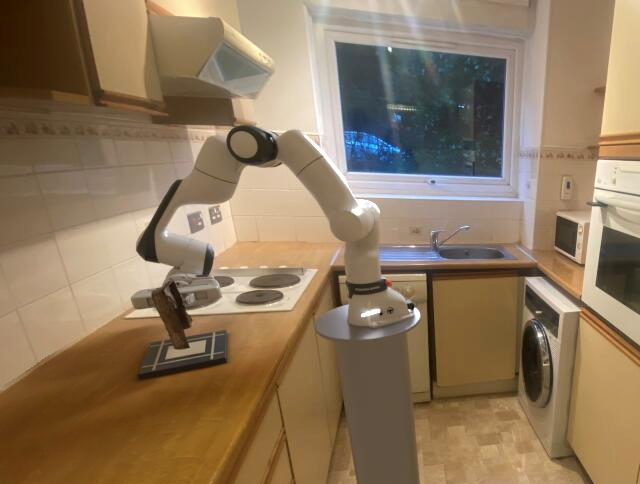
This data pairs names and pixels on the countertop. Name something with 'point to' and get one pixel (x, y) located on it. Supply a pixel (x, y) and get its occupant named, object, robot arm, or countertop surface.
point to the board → (184, 355)
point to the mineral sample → (172, 313)
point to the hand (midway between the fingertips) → (176, 303)
